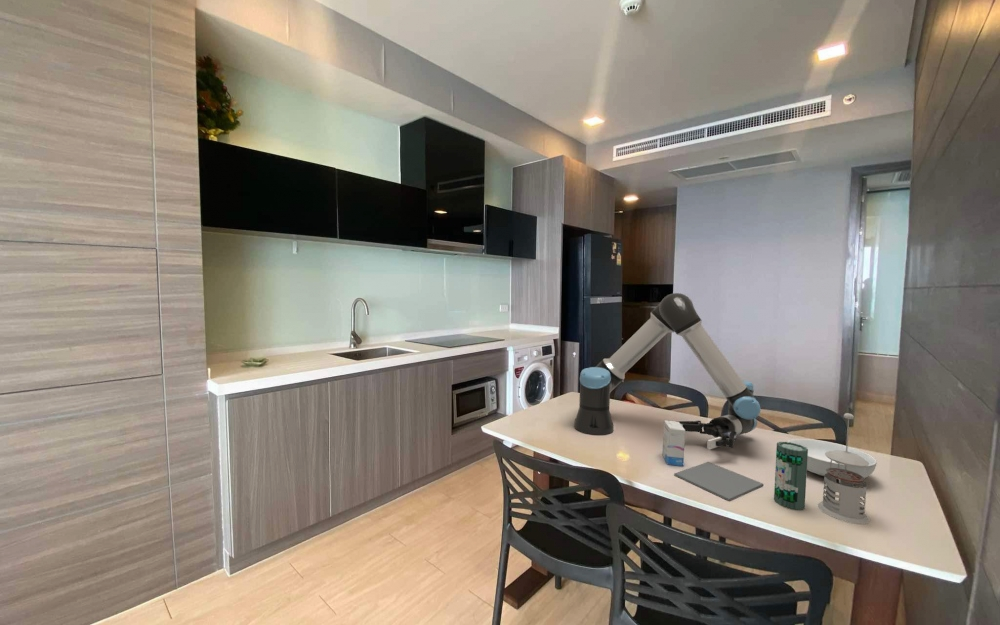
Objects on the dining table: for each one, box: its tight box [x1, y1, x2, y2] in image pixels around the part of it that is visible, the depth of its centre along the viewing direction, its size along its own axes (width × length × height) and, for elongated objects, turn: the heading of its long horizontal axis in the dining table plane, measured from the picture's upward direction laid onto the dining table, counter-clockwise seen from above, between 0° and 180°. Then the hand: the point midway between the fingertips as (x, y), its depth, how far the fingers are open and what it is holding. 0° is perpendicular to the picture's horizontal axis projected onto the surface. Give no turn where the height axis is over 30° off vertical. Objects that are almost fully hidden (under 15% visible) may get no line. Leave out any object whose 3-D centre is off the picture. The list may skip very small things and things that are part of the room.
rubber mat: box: [674, 461, 764, 502], centre depth 110 cm, size 16×17×1 cm
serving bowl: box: [786, 438, 878, 480], centre depth 117 cm, size 21×21×7 cm
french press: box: [817, 412, 871, 525], centre depth 95 cm, size 10×12×25 cm
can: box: [773, 441, 808, 511], centre depth 99 cm, size 6×6×15 cm
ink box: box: [661, 420, 686, 467], centre depth 123 cm, size 9×5×12 cm, turn 168°
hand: (688, 437), depth 126 cm, fingers open, 13 cm apart
